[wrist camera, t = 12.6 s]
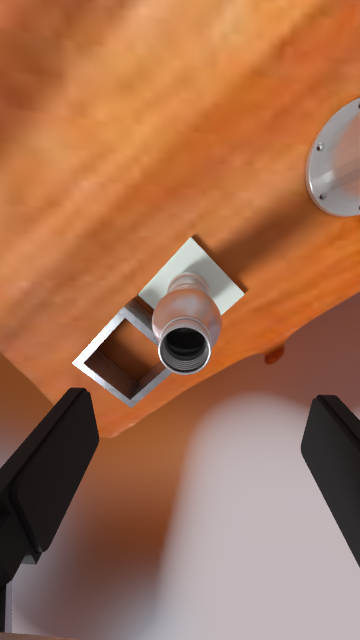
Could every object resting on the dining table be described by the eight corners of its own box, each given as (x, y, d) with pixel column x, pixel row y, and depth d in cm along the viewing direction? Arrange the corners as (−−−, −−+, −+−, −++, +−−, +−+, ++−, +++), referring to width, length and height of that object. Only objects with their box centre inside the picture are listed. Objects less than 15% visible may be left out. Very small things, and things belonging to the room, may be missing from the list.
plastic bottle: (210, 269, 31) (238, 301, 12) (208, 312, 33) (230, 394, 15) (168, 269, 32) (132, 300, 13) (168, 312, 34) (139, 391, 15)
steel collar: (133, 298, 34) (123, 306, 29) (186, 346, 37) (185, 360, 32) (87, 348, 38) (72, 363, 33) (138, 389, 40) (131, 408, 36)
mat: (190, 237, 31) (190, 236, 30) (243, 293, 33) (244, 294, 32) (139, 293, 34) (137, 294, 33) (190, 340, 36) (190, 342, 35)
